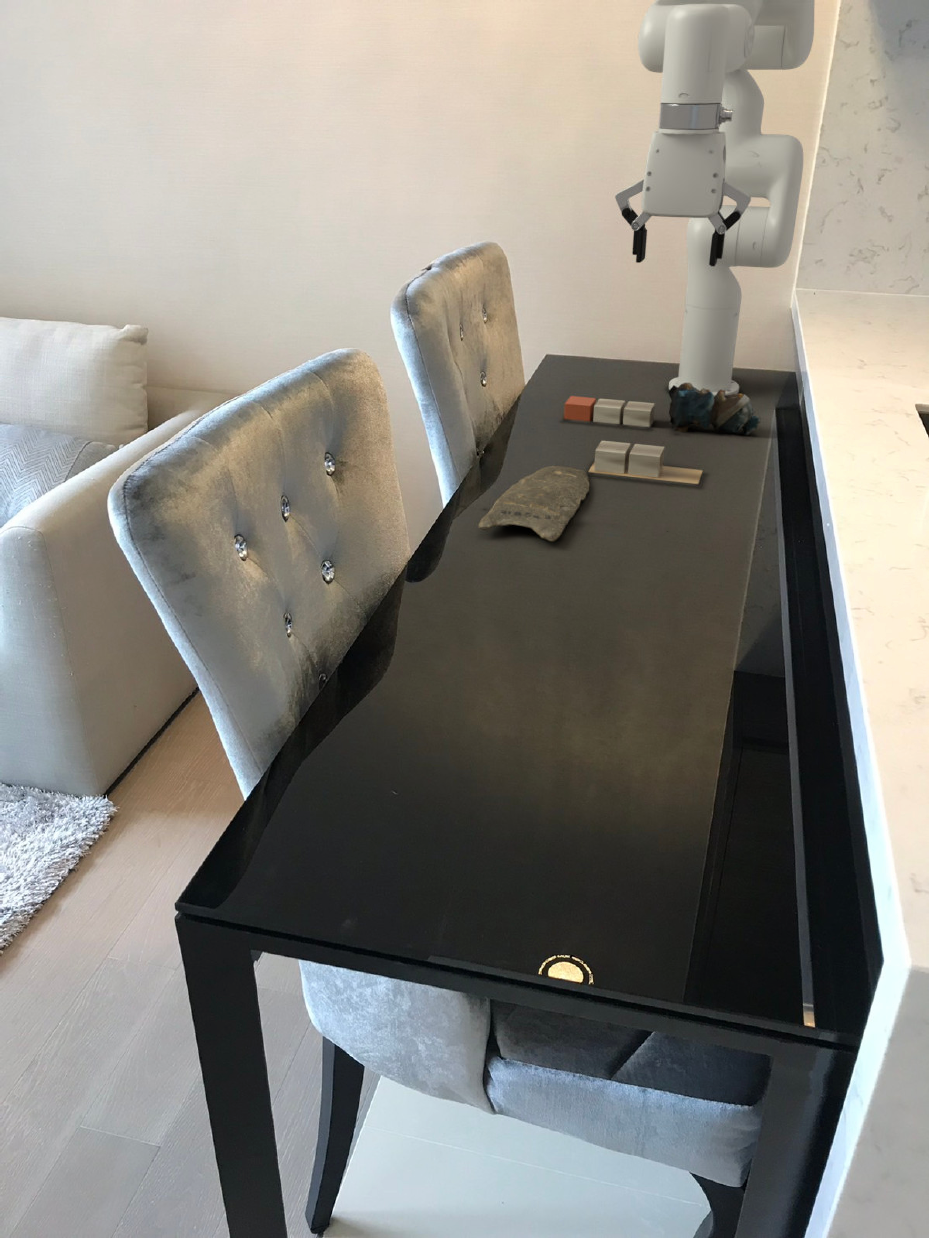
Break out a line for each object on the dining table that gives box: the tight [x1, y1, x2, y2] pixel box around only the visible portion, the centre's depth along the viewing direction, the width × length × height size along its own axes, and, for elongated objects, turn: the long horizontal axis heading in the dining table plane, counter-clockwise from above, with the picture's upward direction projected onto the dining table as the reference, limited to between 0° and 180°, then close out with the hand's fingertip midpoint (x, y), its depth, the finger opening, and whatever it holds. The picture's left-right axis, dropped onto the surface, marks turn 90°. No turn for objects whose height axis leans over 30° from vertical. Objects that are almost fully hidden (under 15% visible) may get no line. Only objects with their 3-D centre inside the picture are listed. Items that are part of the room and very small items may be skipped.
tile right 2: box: [628, 443, 666, 478], centre depth 146 cm, size 4×4×3 cm
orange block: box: [563, 395, 597, 422], centre depth 169 cm, size 4×4×3 cm
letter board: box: [588, 461, 704, 485], centre depth 147 cm, size 6×16×1 cm, turn 71°
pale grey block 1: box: [594, 440, 632, 474], centre depth 148 cm, size 4×4×3 cm
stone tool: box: [478, 465, 590, 542], centre depth 136 cm, size 11×3×25 cm
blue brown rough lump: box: [668, 383, 762, 436], centre depth 161 cm, size 9×8×15 cm
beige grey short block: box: [592, 398, 626, 425], centre depth 168 cm, size 4×4×3 cm
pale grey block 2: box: [622, 400, 656, 428], centre depth 166 cm, size 4×4×3 cm
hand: (676, 262), depth 133 cm, fingers open, 9 cm apart
